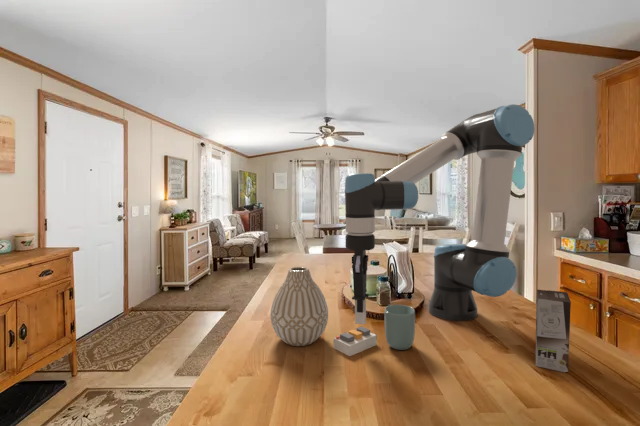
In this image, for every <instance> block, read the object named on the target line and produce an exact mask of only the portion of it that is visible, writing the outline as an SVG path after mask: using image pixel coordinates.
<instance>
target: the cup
mask: <svg viewBox="0 0 640 426" xmlns="http://www.w3.org/2000/svg"><path fill="white" fill-rule="evenodd" d="M415 333H416V310H415V309H414V307H412V306H410V305H404V304H391V305H387V306H386V307H385V308H384V334H385V338H386V339H385V340H386V342H387V344H388V346H389V347H390V348H392V349H395V350H397V351H405V350H408V349H410V348H411V347H412V346H413V344H414V340H415V335H416V334H415Z"/></svg>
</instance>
